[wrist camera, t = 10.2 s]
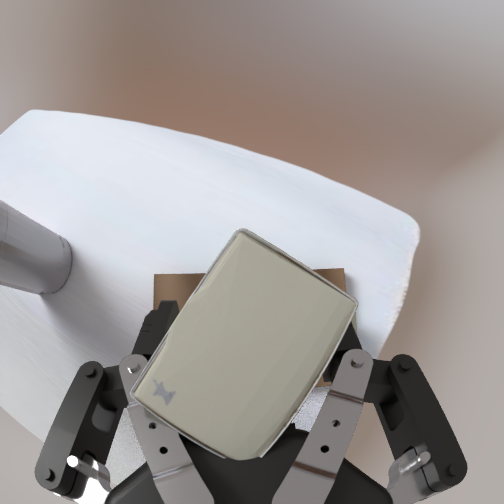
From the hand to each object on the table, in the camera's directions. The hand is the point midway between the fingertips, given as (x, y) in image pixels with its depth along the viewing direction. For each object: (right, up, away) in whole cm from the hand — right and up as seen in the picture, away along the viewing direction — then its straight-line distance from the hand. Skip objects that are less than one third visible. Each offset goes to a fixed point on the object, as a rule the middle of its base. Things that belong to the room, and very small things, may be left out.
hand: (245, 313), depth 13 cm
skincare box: (0, -3, +5) cm, 6 cm away
